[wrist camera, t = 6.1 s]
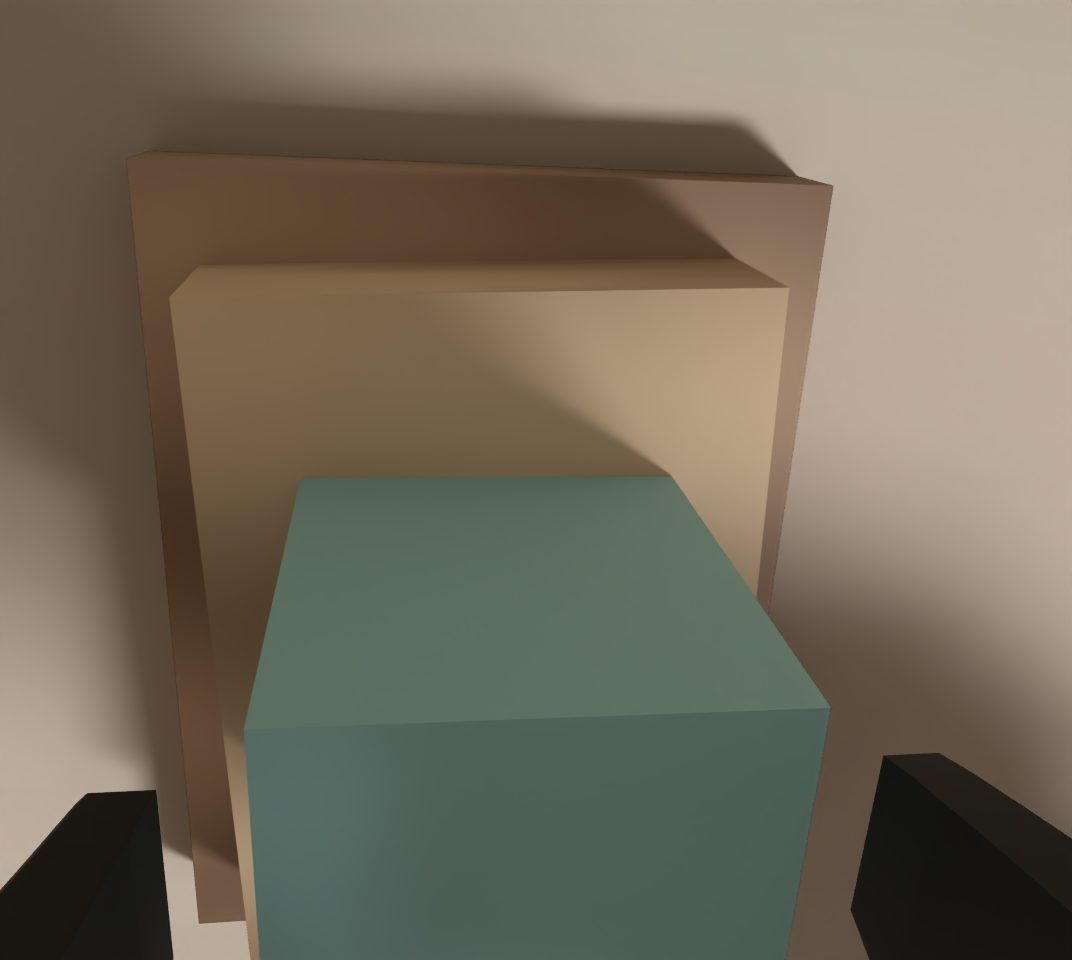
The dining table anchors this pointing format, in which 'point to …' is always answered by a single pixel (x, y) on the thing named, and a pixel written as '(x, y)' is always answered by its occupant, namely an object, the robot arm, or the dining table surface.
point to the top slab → (459, 406)
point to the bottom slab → (418, 236)
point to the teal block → (523, 730)
